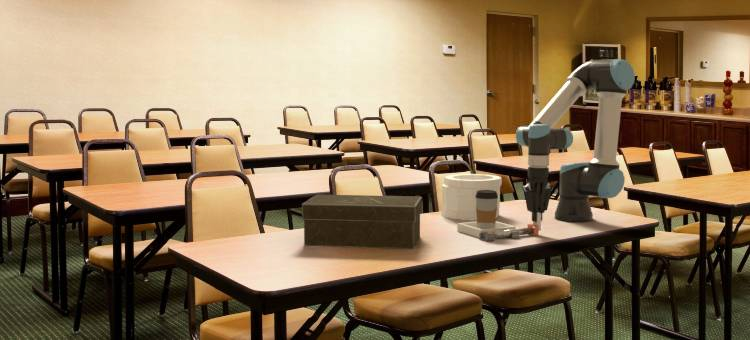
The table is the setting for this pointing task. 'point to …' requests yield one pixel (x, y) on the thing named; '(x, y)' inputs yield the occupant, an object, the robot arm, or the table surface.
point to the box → (362, 221)
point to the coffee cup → (486, 208)
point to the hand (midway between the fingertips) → (536, 230)
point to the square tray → (473, 230)
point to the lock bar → (530, 229)
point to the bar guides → (490, 237)
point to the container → (466, 194)
